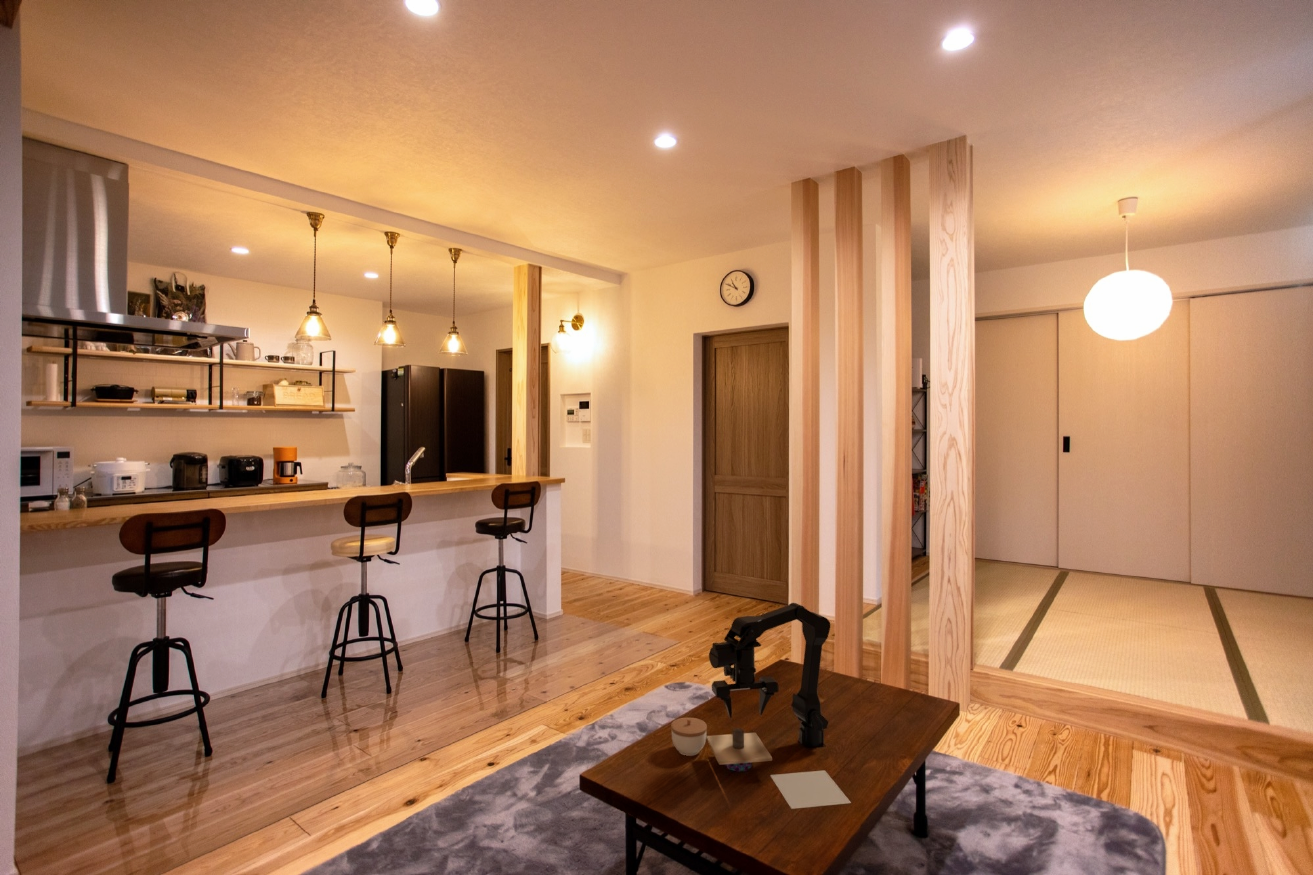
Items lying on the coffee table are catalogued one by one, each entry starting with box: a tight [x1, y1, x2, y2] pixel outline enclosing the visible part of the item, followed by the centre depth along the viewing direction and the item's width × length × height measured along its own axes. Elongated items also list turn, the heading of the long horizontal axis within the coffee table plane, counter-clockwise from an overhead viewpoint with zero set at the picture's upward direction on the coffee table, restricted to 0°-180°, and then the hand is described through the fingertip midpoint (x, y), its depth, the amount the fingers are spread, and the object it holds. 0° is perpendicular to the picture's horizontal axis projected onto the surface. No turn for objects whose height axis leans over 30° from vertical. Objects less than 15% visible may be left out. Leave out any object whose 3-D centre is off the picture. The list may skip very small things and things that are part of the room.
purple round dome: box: [723, 762, 752, 773], centre depth 182 cm, size 12×12×5 cm
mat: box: [770, 770, 852, 810], centre depth 169 cm, size 16×16×1 cm
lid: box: [706, 727, 773, 765], centre depth 182 cm, size 15×15×5 cm
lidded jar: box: [670, 717, 708, 757], centre depth 191 cm, size 11×11×9 cm
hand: (745, 715), depth 186 cm, fingers open, 9 cm apart
